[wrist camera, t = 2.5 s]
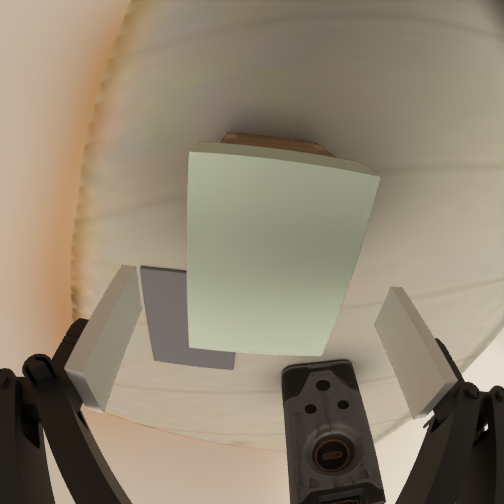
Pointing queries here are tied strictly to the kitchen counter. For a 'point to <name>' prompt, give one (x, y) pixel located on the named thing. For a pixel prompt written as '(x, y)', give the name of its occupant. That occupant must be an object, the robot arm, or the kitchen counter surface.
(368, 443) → the electronic device
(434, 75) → the kitchen counter surface
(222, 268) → the block
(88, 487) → the robot arm
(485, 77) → the kitchen counter surface
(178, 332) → the mat
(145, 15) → the kitchen counter surface
